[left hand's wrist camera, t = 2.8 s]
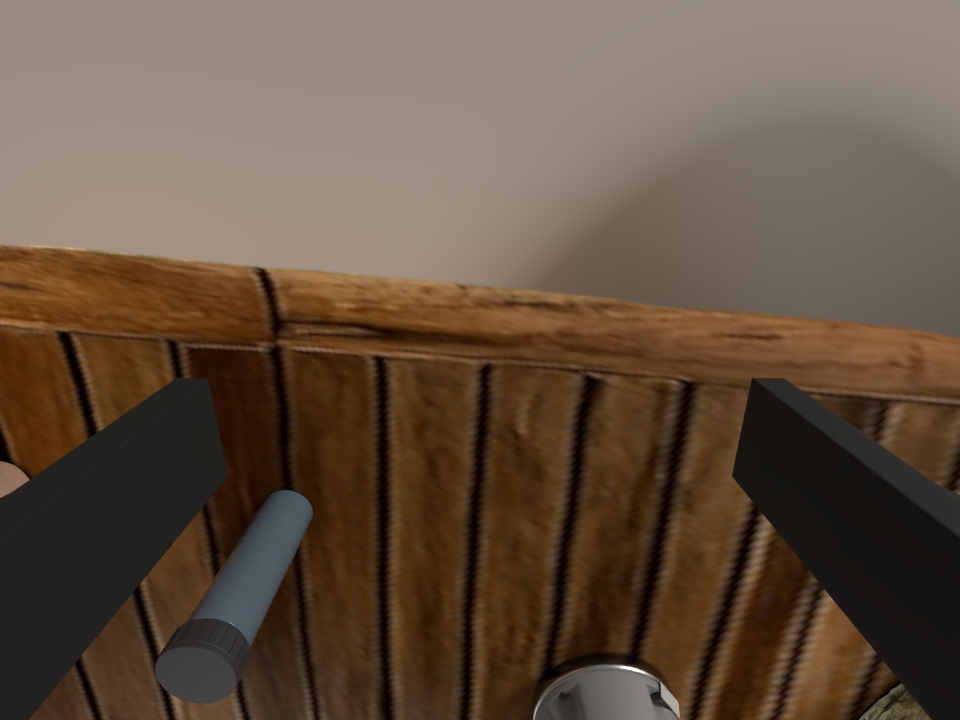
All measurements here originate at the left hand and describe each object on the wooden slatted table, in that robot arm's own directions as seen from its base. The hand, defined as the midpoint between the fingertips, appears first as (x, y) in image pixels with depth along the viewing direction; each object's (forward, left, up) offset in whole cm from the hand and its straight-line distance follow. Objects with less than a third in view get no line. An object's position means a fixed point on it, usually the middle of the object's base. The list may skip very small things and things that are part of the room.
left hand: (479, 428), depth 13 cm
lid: (-24, +18, -12) cm, 32 cm away
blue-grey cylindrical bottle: (-24, +18, -28) cm, 41 cm away
